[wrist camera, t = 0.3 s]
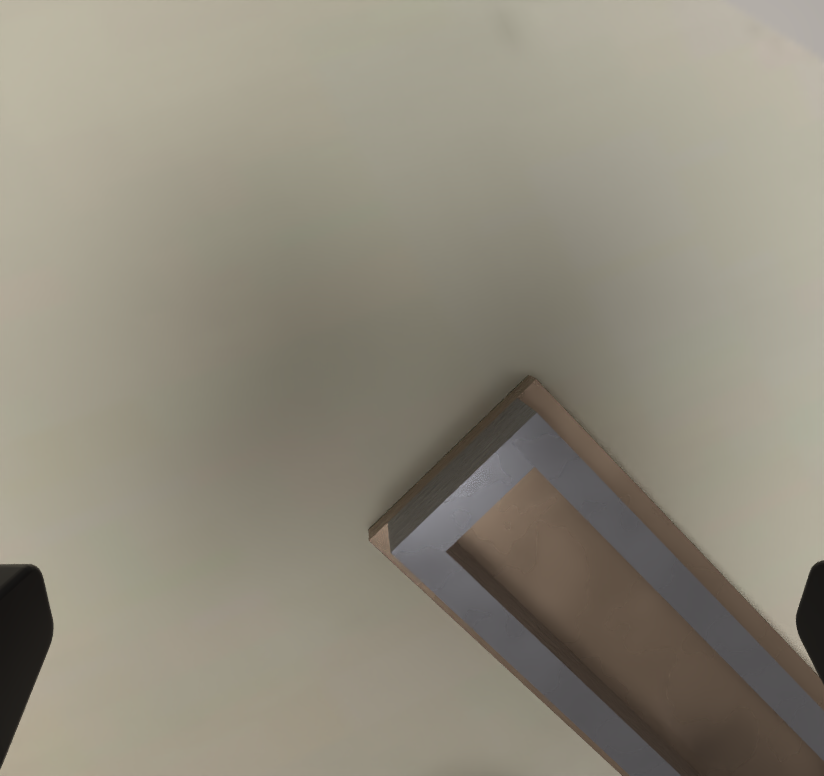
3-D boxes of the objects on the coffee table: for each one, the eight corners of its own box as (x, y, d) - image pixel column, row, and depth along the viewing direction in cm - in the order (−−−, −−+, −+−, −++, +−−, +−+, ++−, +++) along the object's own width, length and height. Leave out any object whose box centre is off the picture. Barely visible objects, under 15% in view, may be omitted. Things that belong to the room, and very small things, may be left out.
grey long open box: (768, 902, 27) (827, 991, 24) (368, 529, 23) (369, 573, 20) (911, 777, 27) (992, 850, 23) (528, 375, 23) (558, 391, 19)
